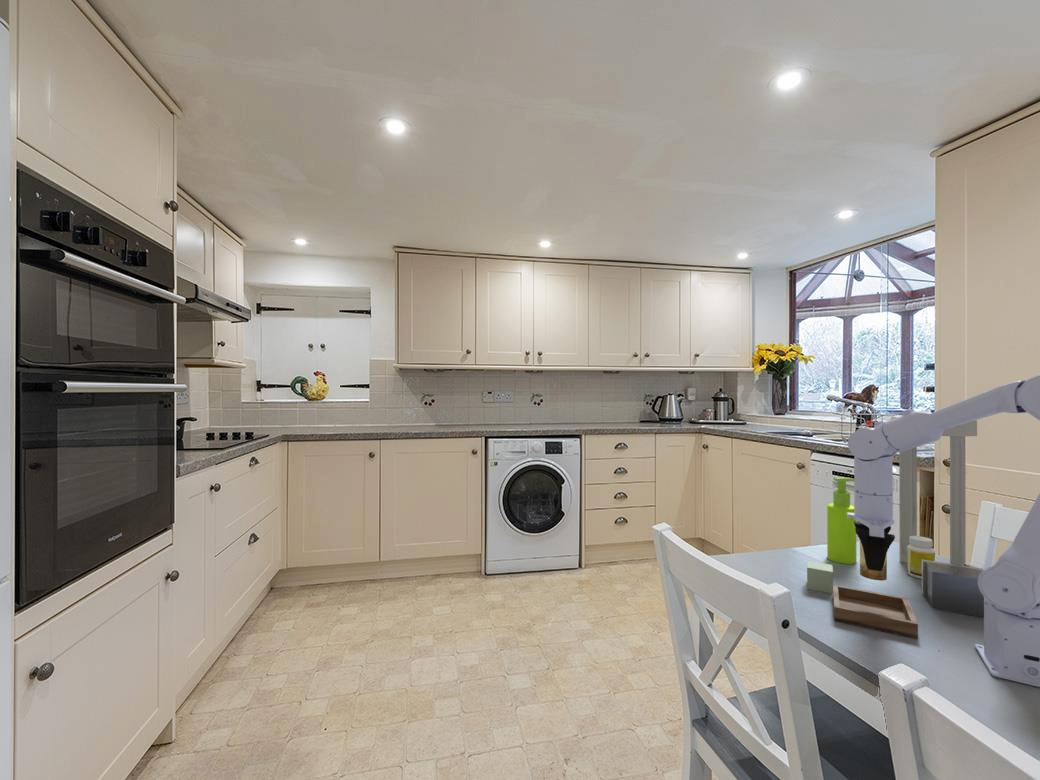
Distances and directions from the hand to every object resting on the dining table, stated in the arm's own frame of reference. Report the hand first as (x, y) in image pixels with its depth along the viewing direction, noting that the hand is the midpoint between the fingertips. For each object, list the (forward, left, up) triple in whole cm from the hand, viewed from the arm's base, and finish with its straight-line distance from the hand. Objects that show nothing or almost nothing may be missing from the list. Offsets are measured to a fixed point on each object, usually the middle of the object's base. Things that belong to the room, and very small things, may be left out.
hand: (873, 565), depth 87 cm
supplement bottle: (+28, -11, -9) cm, 31 cm away
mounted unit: (+12, -14, -9) cm, 20 cm away
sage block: (+9, +8, -9) cm, 15 cm away
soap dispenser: (+31, +3, -9) cm, 32 cm away
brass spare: (0, 0, -2) cm, 2 cm away
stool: (+41, -15, -9) cm, 44 cm away
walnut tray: (-1, 0, -9) cm, 9 cm away
